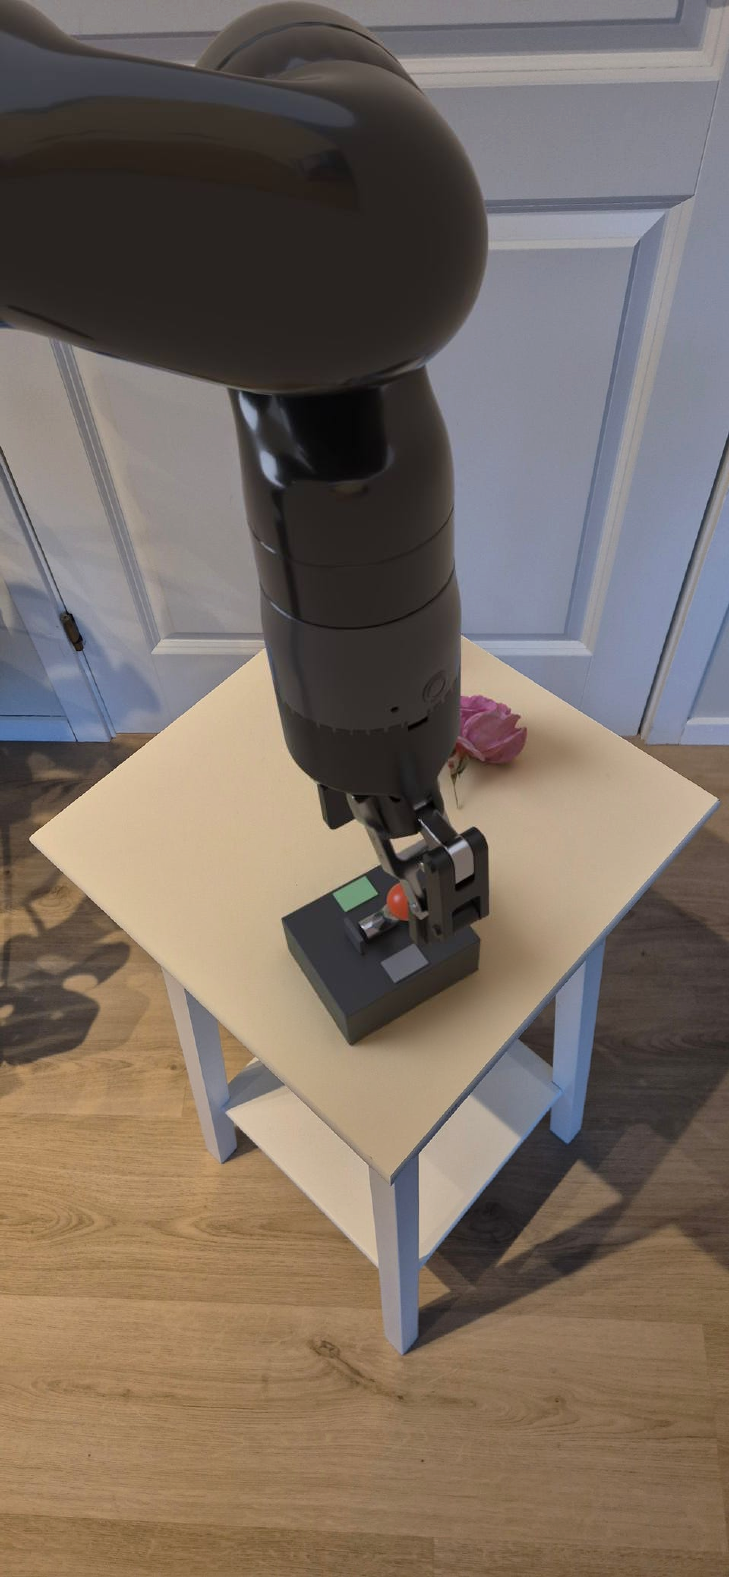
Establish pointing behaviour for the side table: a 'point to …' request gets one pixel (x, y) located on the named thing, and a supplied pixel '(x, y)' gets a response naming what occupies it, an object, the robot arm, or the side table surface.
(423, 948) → the switch box
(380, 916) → the toggle
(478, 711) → the flower
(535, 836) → the side table surface
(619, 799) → the side table surface
